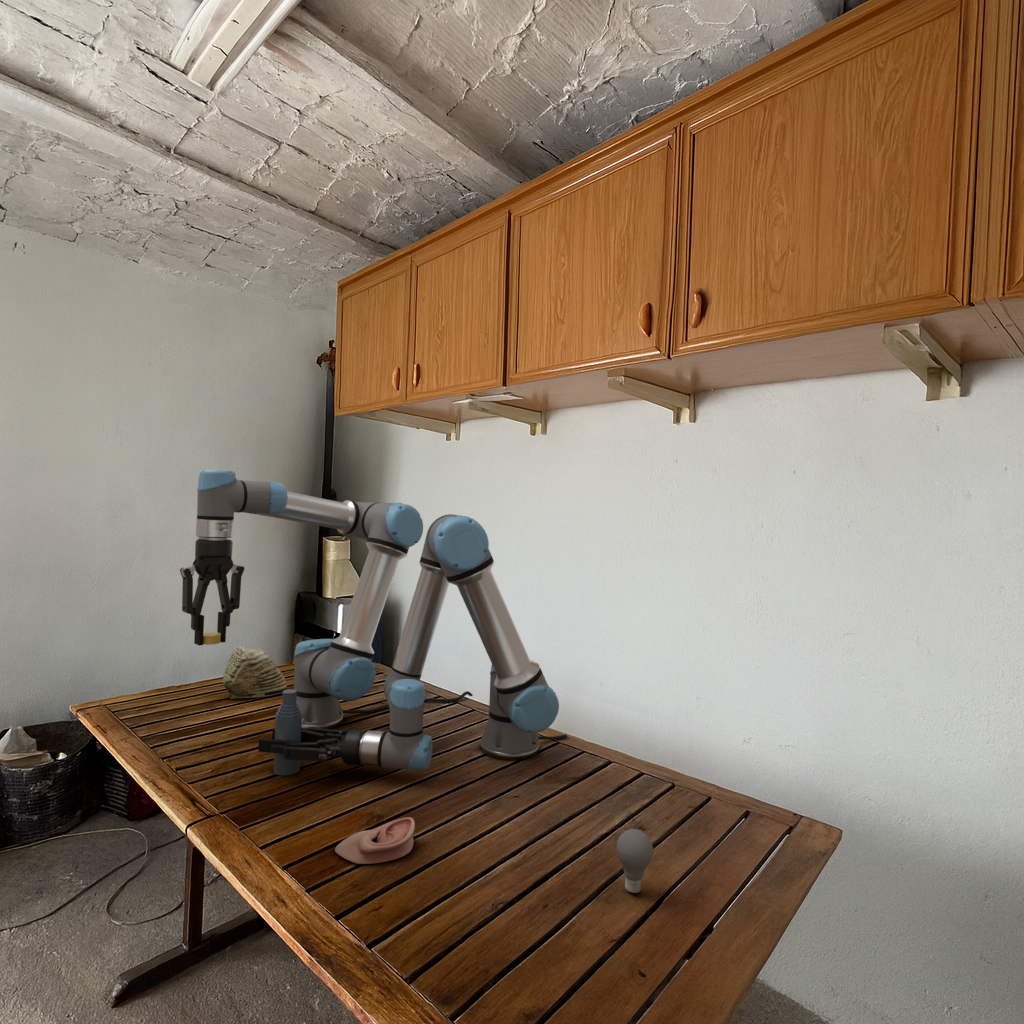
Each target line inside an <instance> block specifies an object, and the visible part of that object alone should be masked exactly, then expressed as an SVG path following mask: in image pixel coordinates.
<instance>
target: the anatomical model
mask: <svg viewBox="0 0 1024 1024" xmlns="http://www.w3.org/2000/svg"><path fill="white" fill-rule="evenodd" d="M415 828H416V823H415V820H414V818H413V817H410V816H409V817H402V818H398V819H395V820H392V821H389V822H386V823H384V824H382V825H380V826H377V827H375V828H372V829H368V830H361V831H358V832H356V833H353V834H352V835H350V836H348V837H346V838H345V839H343V840H342V841H340V843H338V844H337V845H336V846H335V848H334V852H335V853H336V854H337V855H338V856H340V857H341V858H343V859H344V860H347V861H348V862H351V863H353V864H357V865H369V864H370V865H371V864H380V863H385V862H390V861H394V860H398V859H400V858H402V857H404V856H407V855H408V854H409V853H410V852H411V851H412V849H413V847H414V837H413V835H414V833H415Z"/></svg>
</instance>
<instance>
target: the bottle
mask: <svg viewBox="0 0 1024 1024" xmlns="http://www.w3.org/2000/svg"><path fill="white" fill-rule="evenodd" d="M281 694H282V701H281V703H280V705H279V707H278V709H277V712H276V713H275V716H274V728H275V740H283V741H286V740H289V743H301V735H302V711H301V710H300V708H299V705H298V702H296V700H297V690H294V688H290V689H289V688H288V689H286V690H284V691H283V692H282V693H281ZM301 761H302V760H288V759H284V754H279V753H273V766H272V767H273V769H272V771H273V773H274V774H275V775H277V776H290V775H294V774H296V773H298V772H300V770H301Z"/></svg>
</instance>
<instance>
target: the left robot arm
mask: <svg viewBox="0 0 1024 1024" xmlns="http://www.w3.org/2000/svg"><path fill="white" fill-rule="evenodd" d="M197 480H198V481H197V488H196V491H197V502H196V504H197V505H196V524H195V536H196V537H197V538H198V539H196V540H195V547H194V548H195V550H194V561H193V562H192V564H191V565H189V566H187V567H181V568H179V572H180V576H181V578H182V588H181V589H182V593H181V594H182V595H181V596H182V597H181V599H182V600H181V611H182V612H183V613H185V614H189V615H190V629H191V630H192V631H194V639H193V641H194V642H193V643H194V645H197V646H199V647H200V646H203V645H204V644H203V633H205V632H204V630H205V615H203V614H202V610H203V606H204V603H205V598H206V595H207V592H208V589H209V588H208V587H209V586H210V584H211V582H212V581H215V583H216V586H217V591H218V598H219V602H220V603H219V604H220V609H221V611H217V628H216V629H217V631H216V632H218V633H221V642H220V643H226V642H227V641H226V639H227V627H230V625H231V614H232V613H233V612H234V611H235V610H238V609H240V603H241V590H242V589H241V588H242V577H243V573H244V571H245V566H243V565H238V564H235V563H234V561H233V559H232V556H233V547H234V546H233V545H234V543H233V540H232V538H233V537H234V520H235V513H238V514H241V513H244V514H251V515H257V516H263V517H269V518H274V519H280V520H285V521H291V522H296V523H302V524H307V525H312V526H319V527H324V528H328V529H329V528H330V529H335V530H337V532H338V533H339V534H342V535H348V536H352V537H356V538H359V539H362V540H364V541H366V542H365V545H366V547H367V549H368V554H367V556H366V559H365V562H364V565H363V567H362V571H361V574H360V576H359V580H358V582H357V586H356V587H355V591H354V594H353V597H352V600H351V603H350V604H349V605H350V606H349V609H348V611H347V614H346V616H345V620H344V622H343V626H342V628H341V631H340V634H339V636H338V637H336V638H319V639H308V640H303V641H300V642H299V643H298V642H297V644H296V646H295V650H294V655H293V657H294V672H293V689H294V690H297V700H296V702H298V705H299V708H300V710H301V711H302V730H304V729H305V730H307V728H308V727H315V728H324V729H335V728H337V727H339V726H340V725H342V723H343V722H344V715H345V714H346V715H347V714H369V713H375V712H378V711H381V710H384V709H389V705H388V703H387V704H384V705H381V706H377V707H374V708H369V709H342V706H341V702H340V700H341V701H345V702H353V701H357V700H359V699H360V698H362V697H363V696H366V694H367V693H368V692H369V691H370V690H371V689H372V687H373V686H374V683H375V680H376V672H377V671H376V669H375V664H374V663H373V662H372V661H373V658H374V655H375V651H374V649H373V647H372V643H373V641H374V638H375V636H376V635H375V634H376V632H377V628H378V625H379V622H380V621H381V620H380V619H381V616H382V613H383V610H384V608H385V604H386V602H387V599H388V595H389V593H390V589H391V588H392V587H391V586H392V584H393V581H394V578H395V575H396V571H397V568H398V565H399V562H400V561H401V560H402V559H405V558H406V557H407V556H408V553H409V550H410V548H411V547H413V546H415V545H416V544H418V543H419V542H420V540H421V539H422V537H423V532H424V521H423V518H422V517H421V513H420V512H419V511H418V509H416V508H415V507H414V506H412V505H410V504H407V503H402V502H380V501H372V502H371V501H364V502H363V501H353V500H349V499H347V500H346V499H345V500H344V501H337V500H332V499H326V498H322V497H317V496H312V495H309V494H303V493H298V492H293V491H288V490H287V488H286V486H285V485H284V484H283V483H282V482H276V481H263V480H242V479H237V477H236V472H235V471H233V470H228V469H227V470H226V469H211V468H205V469H202V470H201V471H200V472H199V474H198V479H197ZM195 572H196V573H197V575H198V577H197V586H196V590H195V593H193V592H194V578H193V577H194V575H195ZM229 572H230V573H231V575H230V576H231V577H230V592H229V587H228V576H227V575H228V574H229ZM193 596H194V597H193ZM465 696H469V697H473V696H474V695H473V693H471V691H467V690H466V691H463V693H461V694H460V695H459V696H457V697H454V698H435V697H434V698H433V697H431V698H427V697H425V700H424V703H425V702H426V703H427V702H432V703H433V702H435V703H436V702H437V703H453V702H458V701H460V700H462V699H463V698H464V697H465Z"/></svg>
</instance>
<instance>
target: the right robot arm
mask: <svg viewBox="0 0 1024 1024" xmlns="http://www.w3.org/2000/svg"><path fill="white" fill-rule="evenodd" d="M489 545H490V543H489V536H488V534H487V531H486V530H485V529H484V527H483V526H482V525H481V524H480V523H479V522H478V521H477V520H476V519H474V518H472V517H470V516H467V515H462V514H461V515H458V514H453V513H451V514H444V515H441V516H439V517H438V518H435V520H434V521H433V522H432V523H431V524H430V526H429V527H428V529H427V532H426V535H425V539H424V544H423V547H422V552H421V555H420V559H419V562H418V563H419V565H420V567H421V569H420V573H419V577H418V580H417V583H416V586H415V589H414V592H413V596H412V599H411V602H410V605H409V609H408V613H407V616H406V619H405V623H404V626H403V629H402V632H401V635H400V638H399V639H400V640H399V642H398V646H397V649H396V652H395V655H394V659H393V662H392V666H391V669H390V671H389V674H388V675H387V676H386V678H385V680H384V682H383V694H384V696H385V698H386V701H387V704H388V705H389V707H388V709H389V729H388V730H389V732H388V731H381V730H367V731H366V730H364V729H349V730H348V729H335V728H333V729H324V728H315V727H308V728H307V730H305V729H304V730H302V735H301V743H289V740H286V741H283V740H275V727H274V728H273V729H272V735H271V736H272V737H271V739H269V738H259V739H258V747H257V748H258V750H257V752H258V753H269V754H274V753H279V754H284V759H288V760H301V761H306V762H318V763H323V764H325V763H328V762H329V760H328V759H329V758H331V759H332V758H339V757H340V758H341V759H342V762H343V763H344V765H349V766H360V765H362V766H363V767H373V769H377V768H389V769H396V770H397V769H398V770H406V771H425V770H426V769H428V768H429V766H430V765H431V761H432V757H433V746H434V744H433V738H432V736H431V735H428V734H426V733H425V734H424V710H425V702H424V700H425V698H426V696H425V685H424V683H423V682H422V681H421V677H422V675H423V674H422V673H423V670H424V667H425V665H426V661H427V658H428V653H429V652H430V647H431V645H432V641H433V638H434V634H435V631H436V628H437V624H438V623H439V622H438V621H439V618H440V615H441V612H442V608H443V605H444V602H445V598H446V596H447V592H448V588H449V585H451V584H452V585H454V586H456V587H457V589H458V591H459V593H460V596H461V598H462V600H463V603H464V605H465V607H466V609H467V611H468V614H469V616H470V618H471V620H472V623H473V626H474V627H475V629H476V632H477V634H478V636H479V639H480V640H481V642H482V645H483V648H484V649H485V652H486V654H487V656H488V659H489V661H490V663H491V665H490V672H489V675H490V677H489V702H488V703H489V704H488V719H487V722H486V724H485V727H484V730H483V733H482V734H481V738H480V750H481V751H482V752H483V753H484V754H485V755H487V756H489V757H492V758H495V759H500V760H505V761H506V760H509V761H518V760H526V759H529V758H532V757H535V756H536V755H538V753H539V752H540V741H541V740H545V741H556V740H557V741H558V740H561V739H566V738H568V735H567V734H566V733H565V734H561V735H556V736H555V735H554V736H548V735H546V736H545V735H538V733H541V732H543V731H545V730H547V729H548V728H550V727H551V726H552V725H553V723H554V722H555V720H556V719H557V716H558V715H559V710H560V702H559V698H558V696H557V694H556V692H555V691H554V689H553V688H552V687H550V686H549V684H548V682H547V680H546V677H545V675H544V673H543V671H542V668H541V666H540V664H539V663H538V662H537V661H533V660H531V658H530V657H529V654H528V652H527V649H526V648H525V645H524V643H523V640H522V638H521V636H520V634H519V631H518V629H517V627H516V625H515V621H514V620H513V618H512V616H511V613H510V610H509V609H508V606H507V603H506V602H505V599H504V597H503V595H502V592H501V590H500V588H499V585H498V584H497V580H496V579H495V577H494V573H493V572H492V569H493V567H494V564H495V560H494V558H493V555H492V553H491V551H490V548H489Z"/></svg>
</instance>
